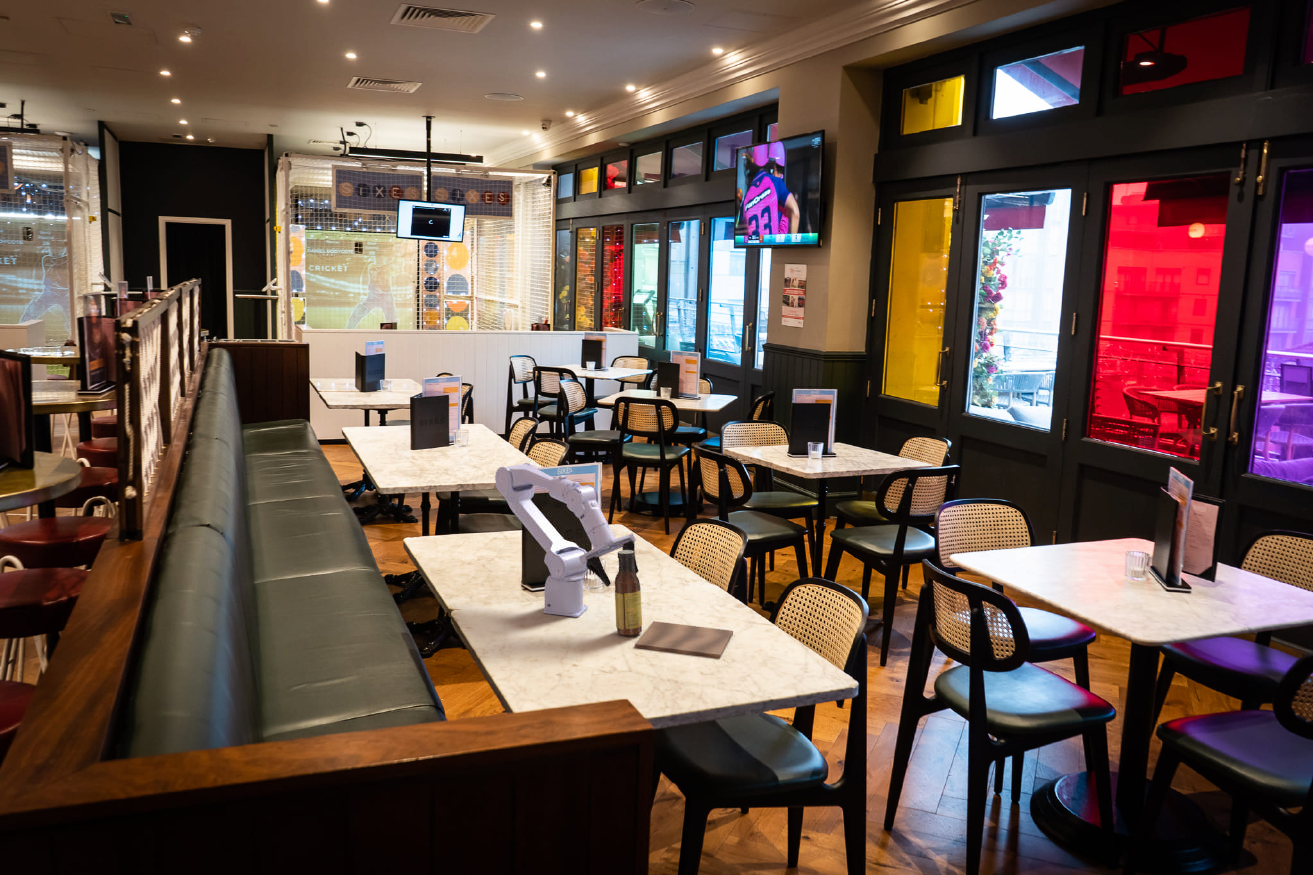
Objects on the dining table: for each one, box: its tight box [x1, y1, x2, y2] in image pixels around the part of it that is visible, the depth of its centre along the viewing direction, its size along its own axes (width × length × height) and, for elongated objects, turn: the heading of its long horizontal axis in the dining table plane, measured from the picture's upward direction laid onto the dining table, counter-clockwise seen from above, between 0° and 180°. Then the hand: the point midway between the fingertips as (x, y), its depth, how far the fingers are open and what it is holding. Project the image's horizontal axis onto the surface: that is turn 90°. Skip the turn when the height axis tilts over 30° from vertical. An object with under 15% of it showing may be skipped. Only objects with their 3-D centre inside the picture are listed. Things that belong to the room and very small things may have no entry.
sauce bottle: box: [614, 550, 643, 637], centre depth 224 cm, size 6×6×20 cm
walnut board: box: [634, 620, 734, 659], centre depth 221 cm, size 20×16×1 cm
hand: (622, 578), depth 225 cm, fingers open, 7 cm apart
